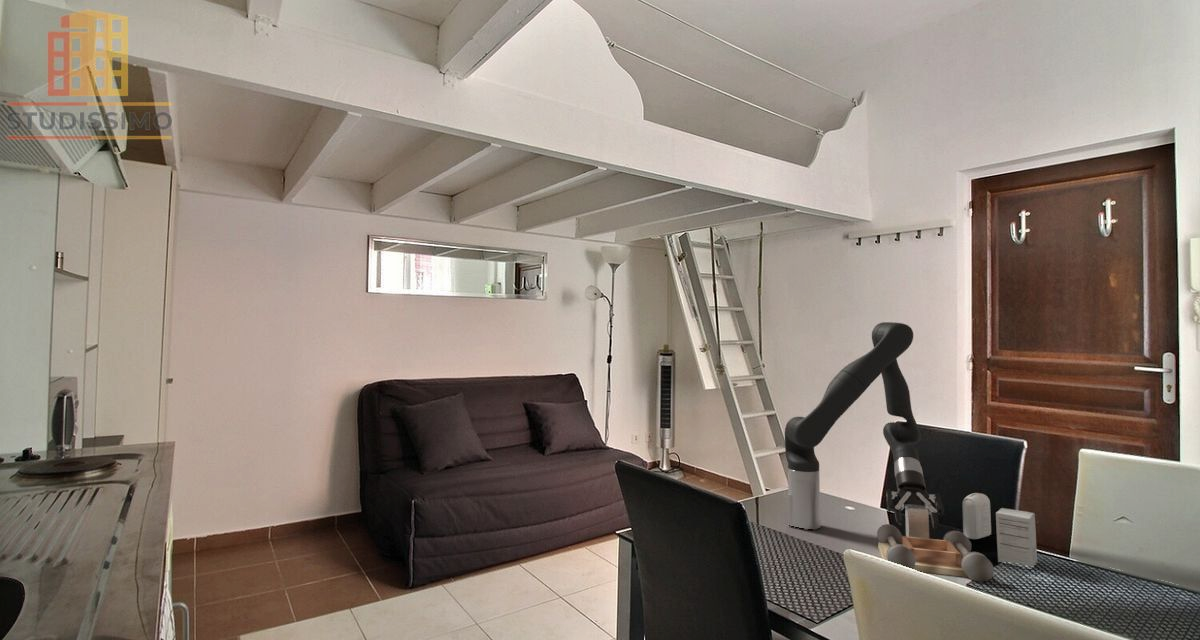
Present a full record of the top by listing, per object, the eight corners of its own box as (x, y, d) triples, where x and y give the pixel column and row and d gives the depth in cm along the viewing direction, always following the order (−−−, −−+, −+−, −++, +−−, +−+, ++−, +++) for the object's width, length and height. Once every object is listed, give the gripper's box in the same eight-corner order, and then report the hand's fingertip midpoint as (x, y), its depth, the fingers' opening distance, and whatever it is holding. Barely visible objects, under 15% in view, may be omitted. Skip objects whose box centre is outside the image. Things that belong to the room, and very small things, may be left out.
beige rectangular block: (909, 544, 158) (908, 508, 159) (906, 539, 163) (905, 503, 164) (929, 546, 156) (928, 509, 157) (925, 541, 161) (924, 505, 162)
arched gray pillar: (977, 531, 171) (976, 490, 172) (993, 535, 168) (991, 492, 169) (961, 537, 166) (959, 494, 167) (977, 541, 162) (975, 497, 163)
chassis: (888, 570, 138) (887, 545, 138) (877, 545, 157) (876, 523, 158) (994, 583, 130) (993, 556, 131) (969, 555, 150) (968, 531, 150)
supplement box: (1003, 556, 149) (1001, 507, 150) (1038, 563, 144) (1035, 512, 145) (996, 562, 144) (994, 512, 145) (1033, 570, 139) (1030, 518, 140)
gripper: (884, 467, 171) (890, 515, 159) (937, 470, 166) (948, 520, 155) (882, 481, 175) (888, 529, 164) (934, 485, 171) (945, 535, 159)
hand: (917, 525), depth 159 cm, fingers open, 8 cm apart
